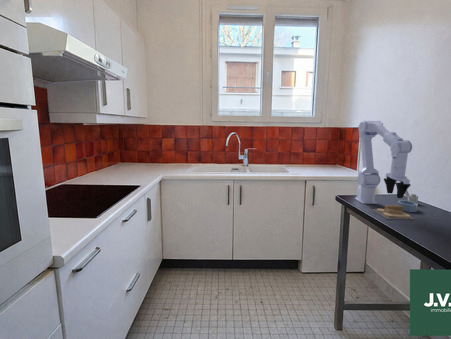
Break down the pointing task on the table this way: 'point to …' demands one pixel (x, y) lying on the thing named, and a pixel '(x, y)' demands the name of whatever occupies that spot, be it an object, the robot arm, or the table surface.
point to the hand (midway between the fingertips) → (394, 195)
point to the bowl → (408, 205)
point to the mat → (391, 218)
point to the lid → (394, 211)
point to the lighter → (411, 197)
